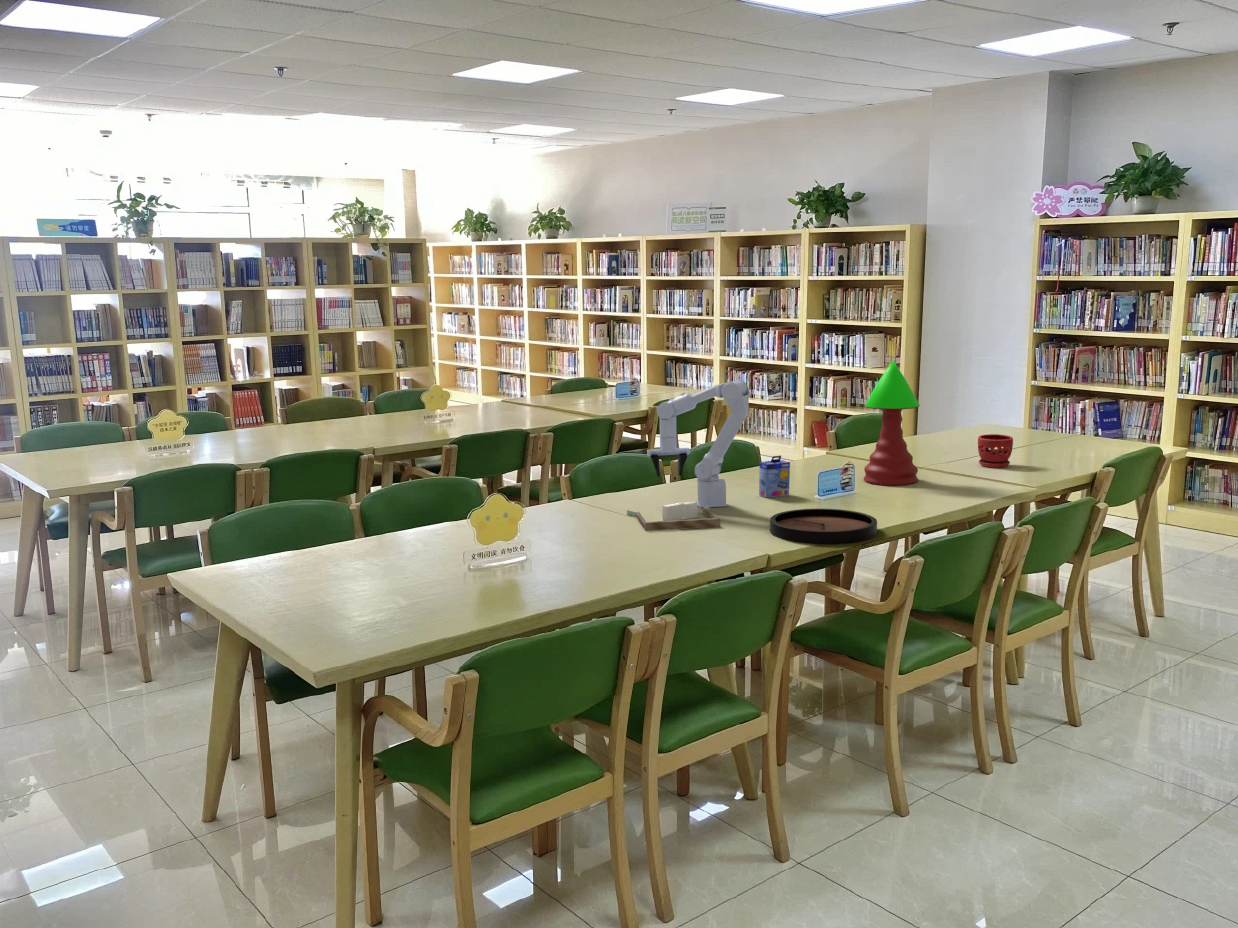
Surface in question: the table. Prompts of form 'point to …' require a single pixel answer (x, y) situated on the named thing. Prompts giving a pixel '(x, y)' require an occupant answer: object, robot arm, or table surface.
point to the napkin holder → (679, 511)
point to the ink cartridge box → (774, 478)
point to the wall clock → (823, 526)
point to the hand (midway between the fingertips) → (668, 475)
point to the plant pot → (995, 450)
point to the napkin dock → (678, 522)
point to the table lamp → (891, 431)
